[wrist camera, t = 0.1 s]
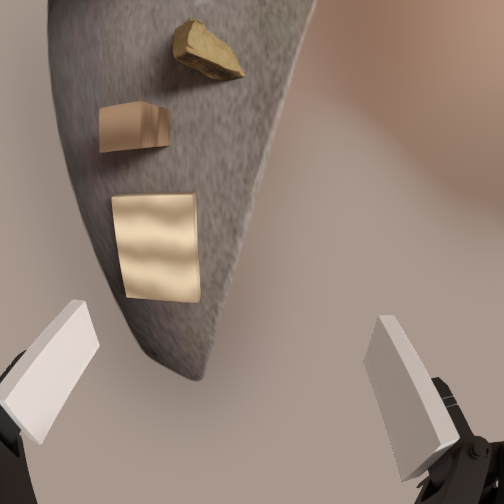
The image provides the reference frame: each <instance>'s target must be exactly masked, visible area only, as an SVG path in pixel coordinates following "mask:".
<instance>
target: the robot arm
mask: <svg viewBox="0 0 504 504" xmlns="http://www.w3.org/2000/svg"><path fill="white" fill-rule="evenodd" d="M99 346H100V345H99V342H98V339H97V337H96V334H95V331H94V328H93V325H92V322H91V319H90V315H89V312H88V309H87V305H86V302H85V301H84V300H77V299H73V300H72V301H71V302H70V303H69V304H68V305H67V306H66V307H65V308H64V309H63V310H62V311H61V312H60V313H59V314H58V316H57V317H56V318H55V319H54V320H53V321H52V322H51V323H50V324H49V325H48V326H47V328H46V329H45V330H44V331H43V332H42V333H41V334H40V335H39V337H38V338H37V339H36V340H35V341H34V342H33V344H32V345H31V346H30V347H29V348H28V350H25V351H23V352H22V353H20V354H19V355H18V356H17V357H16V358H15V359H14V360H13V362H12V363H11V365H9V366H8V368H7V369H6V371H4V373H3V374H2V375H1V376H0V504H37V501H36V497H35V494H34V490H33V487H32V483H31V479H30V475H29V471H28V467H27V462H26V458H25V453H24V447H23V441H22V438H21V436H20V435H19V433H20V431H21V430H22V431H23V433H24V434H25V435H26V436H27V437H28V438H29V439H31V440H33V441H34V442H36V443H38V444H40V445H41V444H42V442H43V441H44V438H45V437H46V435H47V433H48V431H49V429H50V427H51V426H52V424H53V422H54V420H55V418H56V416H57V415H58V413H59V411H60V409H61V408H62V406H63V404H64V403H65V401H66V399H67V397H68V396H69V394H70V392H71V391H72V389H73V387H74V386H75V384H76V382H77V381H78V379H79V378H80V376H81V374H82V373H83V371H84V370H85V368H86V366H87V365H88V363H89V362H90V360H91V358H92V357H93V355H94V354H95V352H96V351H97V349H98V348H99ZM363 363H364V365H365V368H366V371H367V374H368V376H369V379H370V382H371V385H372V388H373V390H374V393H375V396H376V399H377V402H378V405H379V408H380V411H381V414H382V417H383V420H384V423H385V426H386V429H387V432H388V436H389V438H390V442H391V445H392V449H393V452H394V455H395V459H396V462H397V466H398V469H399V473H400V477H401V480H402V482H403V481H406V480H410V479H413V478H416V477H419V476H420V475H422V474H423V473H424V472H425V471H426V470H427V469H428V472H429V476H428V477H426V478H425V479H424V480H423V481H421V482H420V483H419V484H418V486H417V488H420V487H421V486H422V485H423V484H424V485H423V487H422V489H421V492H420V493H419V495H418V498H417V499H416V501H415V503H414V504H504V441H502V442H493V443H488V442H487V440H486V439H484V438H482V437H481V436H474V435H473V433H472V431H471V429H470V427H469V425H468V423H467V421H466V419H465V417H464V415H463V413H462V411H461V409H460V407H459V406H458V405H457V402H456V400H455V399H454V397H453V394H452V393H451V391H450V389H449V387H448V385H447V384H446V383H444V382H443V381H442V380H441V379H440V378H439V377H436V378H430V377H429V375H428V373H427V371H426V369H425V367H424V366H423V364H422V362H421V360H420V358H419V357H418V355H417V353H416V351H415V350H414V348H413V346H412V345H411V343H410V341H409V340H408V338H407V336H406V335H405V333H404V331H403V330H402V328H401V327H400V325H399V323H398V322H397V320H396V318H395V317H394V315H382V316H378V318H377V322H376V325H375V328H374V332H373V334H372V337H371V341H370V344H369V347H368V350H367V352H366V355H365V358H364V361H363ZM497 481H498V487H497V486H496V482H497Z"/></svg>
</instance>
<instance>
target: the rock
mask: <svg viewBox="0 0 504 504" xmlns="http://www.w3.org/2000/svg"><path fill="white" fill-rule="evenodd" d="M173 55H174V58H175V59H176V60H178V61H180V62H182V63H183V64H185V65H186V66H189V67H192V68H195V69H198V70H199V71H200V72H202V73H204V74H205V75H206V76H208V77H210V78H211V79H221V80H232V79H237V78H240V77H244V76H245V72H244V71H243V70H242V69H241V66H240V64H239V62H238V59H237V57H236V56H235V53H234V52H233V51H232V50H231V49H230V47H229V46H228V45H227V44H225V43H224V42H223V41H222V40H219V39H218V38H217V37H216V35H214V34H213V33H211V32H209V31H207V29H206V27H205V26H204V23H203V22H202V21H200V20H198V19H194V18H189V19H188V20H187V21H186V22H185V23H184V24H183V25H181V26H179V27H178V28H176V30H175V33H174V35H173Z"/></svg>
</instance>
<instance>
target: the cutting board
mask: <svg viewBox="0 0 504 504" xmlns="http://www.w3.org/2000/svg"><path fill="white" fill-rule="evenodd" d="M111 199H112V209H113V218H114V226H115V234H116V241H117V248H118V254H119V260H120V266H121V271H122V277H123V282H124V287H125V292H126V297H130V298H141V299H152V300H165V301H179V302H194V303H199V300H200V297H201V289H200V275H199V259H198V240H197V218H196V192H167V193H136V194H117V195H115V196H113V197H111Z"/></svg>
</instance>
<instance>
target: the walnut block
mask: <svg viewBox="0 0 504 504" xmlns="http://www.w3.org/2000/svg"><path fill="white" fill-rule="evenodd" d="M158 146H170V110H169V109H166V108H163V107H159V106H156V105H153V104H149V103H145V102H142V101H137V102H131V103H125V104H119V105H114V106H109V107H104V108H99V147H100V153H103V152H111V151H119V150H128V149H138V148H148V147H158Z"/></svg>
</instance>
